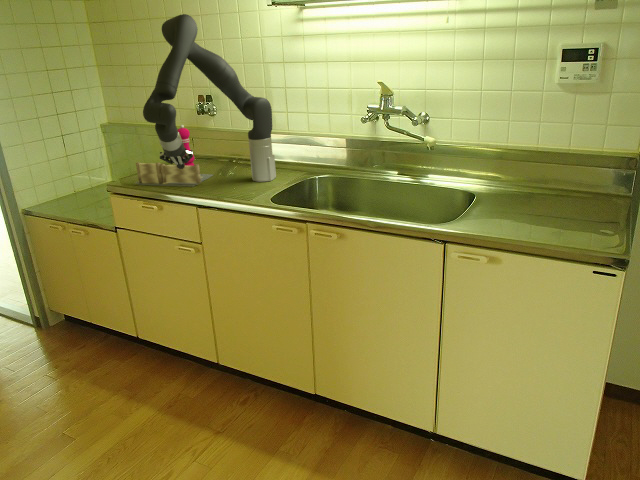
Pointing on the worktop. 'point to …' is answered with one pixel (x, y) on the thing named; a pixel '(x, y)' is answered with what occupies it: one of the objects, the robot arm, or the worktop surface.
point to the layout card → (203, 177)
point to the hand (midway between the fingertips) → (181, 167)
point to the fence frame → (149, 173)
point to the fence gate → (180, 174)
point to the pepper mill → (186, 142)
